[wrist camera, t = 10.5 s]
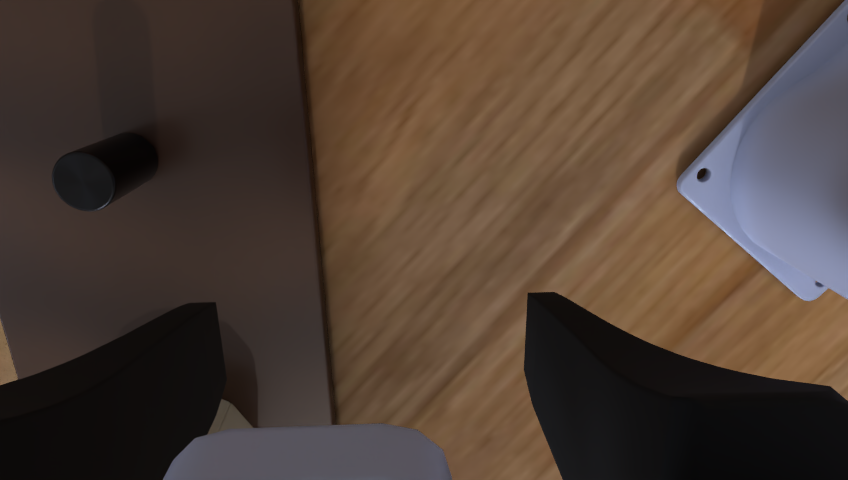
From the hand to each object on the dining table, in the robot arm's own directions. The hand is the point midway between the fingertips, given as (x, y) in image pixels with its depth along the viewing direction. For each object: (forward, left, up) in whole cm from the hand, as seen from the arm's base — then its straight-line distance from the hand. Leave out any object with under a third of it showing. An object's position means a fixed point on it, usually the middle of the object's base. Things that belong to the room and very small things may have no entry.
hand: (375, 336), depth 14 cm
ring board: (+8, -4, -9) cm, 13 cm away
